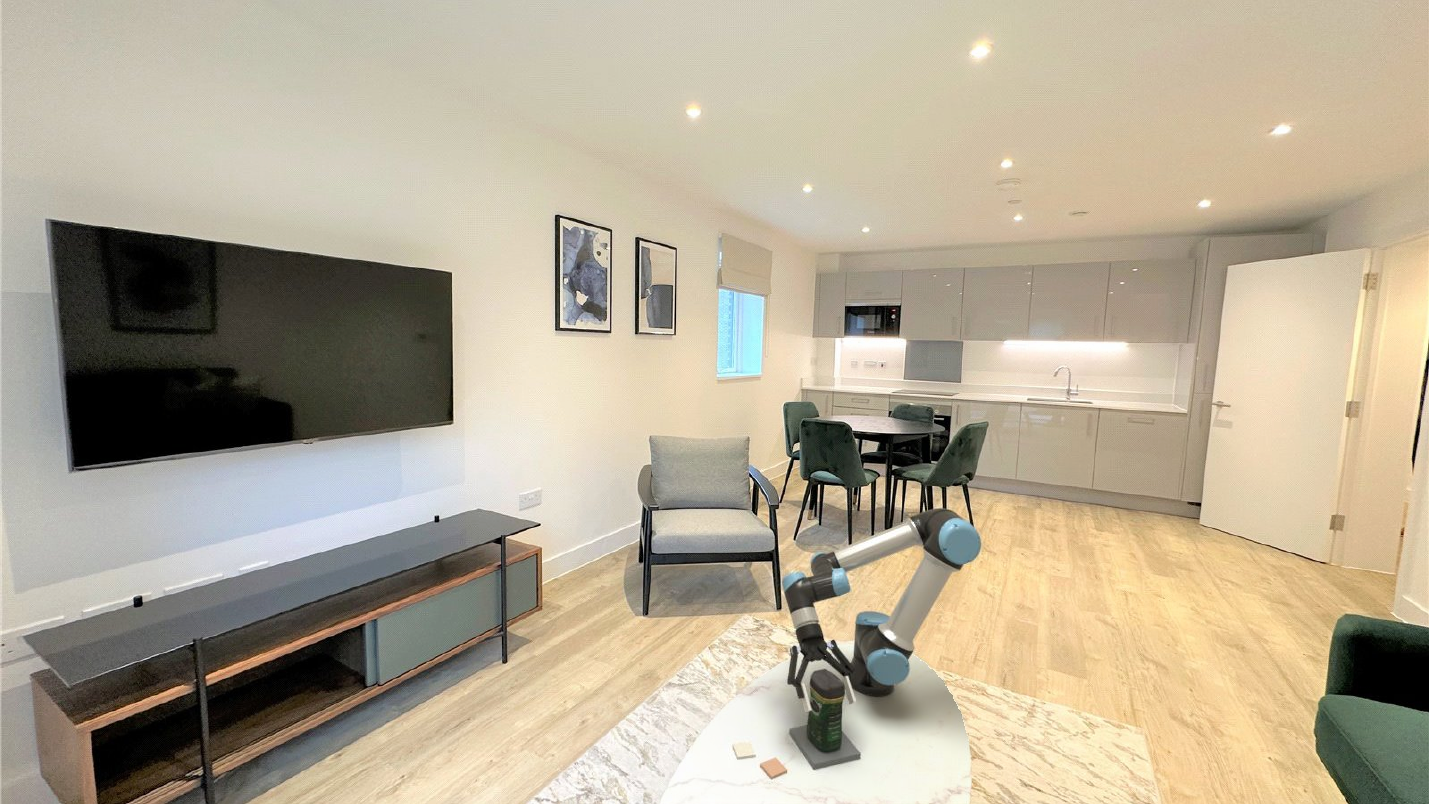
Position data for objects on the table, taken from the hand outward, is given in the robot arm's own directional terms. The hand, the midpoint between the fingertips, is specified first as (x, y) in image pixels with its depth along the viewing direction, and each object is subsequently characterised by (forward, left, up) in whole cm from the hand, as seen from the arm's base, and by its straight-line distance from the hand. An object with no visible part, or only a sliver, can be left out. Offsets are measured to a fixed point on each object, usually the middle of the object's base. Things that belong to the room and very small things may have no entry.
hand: (831, 707), depth 148 cm
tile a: (+17, +2, -13) cm, 22 cm away
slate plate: (0, -2, -13) cm, 13 cm away
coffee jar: (0, -2, -11) cm, 12 cm away
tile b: (+22, -6, -13) cm, 26 cm away
